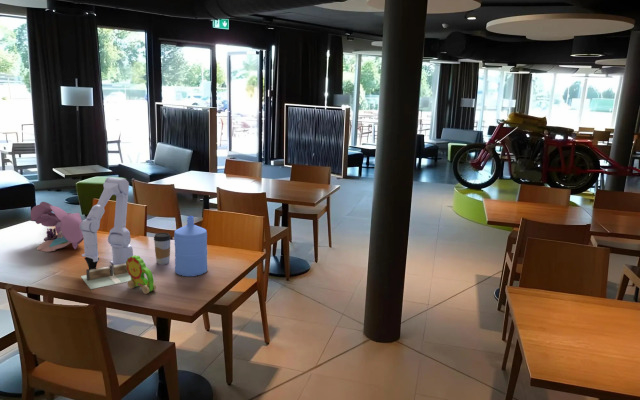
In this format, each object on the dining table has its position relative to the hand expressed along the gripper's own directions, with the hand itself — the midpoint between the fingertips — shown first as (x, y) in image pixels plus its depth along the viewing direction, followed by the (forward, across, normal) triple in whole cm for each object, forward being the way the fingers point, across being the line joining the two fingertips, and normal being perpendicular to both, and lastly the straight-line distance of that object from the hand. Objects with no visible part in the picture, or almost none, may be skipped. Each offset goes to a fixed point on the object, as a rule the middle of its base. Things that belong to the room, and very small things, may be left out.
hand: (92, 271), depth 231 cm
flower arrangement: (+2, -54, -4) cm, 54 cm away
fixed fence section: (+2, +5, +12) cm, 13 cm away
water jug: (+2, +20, +41) cm, 45 cm away
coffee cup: (+2, +1, +34) cm, 34 cm away
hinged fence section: (+1, +5, +1) cm, 6 cm away
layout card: (+2, +7, +7) cm, 10 cm away
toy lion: (+2, +28, +13) cm, 30 cm away
